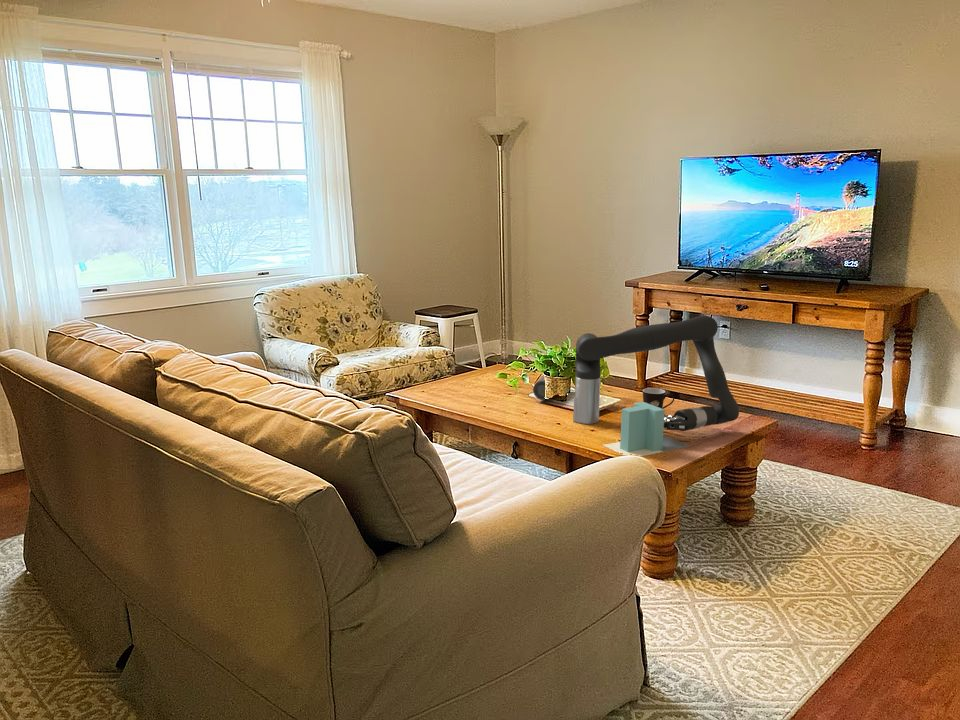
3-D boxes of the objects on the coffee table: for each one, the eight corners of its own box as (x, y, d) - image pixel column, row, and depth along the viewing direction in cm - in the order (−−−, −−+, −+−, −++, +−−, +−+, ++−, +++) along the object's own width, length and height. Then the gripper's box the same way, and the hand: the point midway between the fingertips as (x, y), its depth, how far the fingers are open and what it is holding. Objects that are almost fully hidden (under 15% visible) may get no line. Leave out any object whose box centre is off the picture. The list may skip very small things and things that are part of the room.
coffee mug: (638, 416, 305) (639, 392, 303) (644, 411, 312) (646, 386, 310) (668, 421, 300) (669, 395, 297) (674, 415, 307) (675, 390, 305)
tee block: (641, 440, 275) (642, 401, 272) (662, 449, 266) (664, 409, 262) (613, 445, 269) (615, 406, 266) (634, 455, 260) (636, 414, 257)
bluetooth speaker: (553, 404, 321) (553, 380, 319) (531, 401, 325) (531, 378, 323) (569, 391, 342) (569, 368, 340) (548, 388, 345) (549, 366, 343)
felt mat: (660, 436, 282) (661, 433, 282) (690, 448, 269) (690, 446, 269) (602, 447, 270) (602, 444, 270) (630, 460, 257) (630, 458, 257)
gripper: (677, 404, 282) (640, 410, 274) (704, 413, 271) (665, 420, 262) (676, 424, 284) (638, 430, 275) (703, 434, 272) (664, 441, 264)
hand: (652, 425), depth 269 cm, fingers closed
